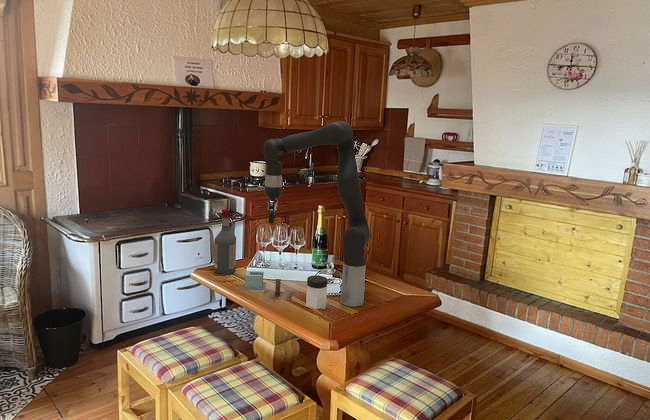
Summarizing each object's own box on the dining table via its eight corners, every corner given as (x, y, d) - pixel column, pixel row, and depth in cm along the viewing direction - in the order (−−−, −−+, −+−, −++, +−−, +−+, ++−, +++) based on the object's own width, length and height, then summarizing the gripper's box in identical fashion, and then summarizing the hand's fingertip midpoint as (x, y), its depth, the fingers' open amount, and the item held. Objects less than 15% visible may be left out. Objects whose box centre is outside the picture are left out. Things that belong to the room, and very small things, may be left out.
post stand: (292, 294, 210) (293, 276, 208) (291, 302, 201) (292, 284, 199) (264, 292, 209) (264, 275, 208) (261, 301, 201) (262, 282, 199)
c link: (244, 287, 211) (245, 275, 210) (246, 282, 217) (247, 270, 215) (261, 288, 211) (262, 276, 210) (263, 283, 217) (263, 271, 216)
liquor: (236, 268, 236) (237, 208, 230) (232, 275, 227) (234, 212, 221) (217, 267, 236) (218, 207, 230) (213, 274, 227) (213, 211, 221)
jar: (311, 312, 193) (313, 283, 190) (301, 304, 200) (302, 277, 197) (330, 308, 198) (332, 280, 195) (319, 301, 205) (321, 273, 202)
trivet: (266, 284, 219) (266, 282, 218) (264, 292, 210) (264, 289, 210) (246, 283, 218) (246, 281, 218) (243, 291, 210) (243, 288, 209)
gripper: (280, 188, 207) (279, 225, 211) (283, 182, 221) (281, 217, 225) (263, 187, 207) (261, 224, 210) (266, 181, 221) (265, 216, 224)
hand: (272, 221), depth 217 cm, fingers open, 8 cm apart
